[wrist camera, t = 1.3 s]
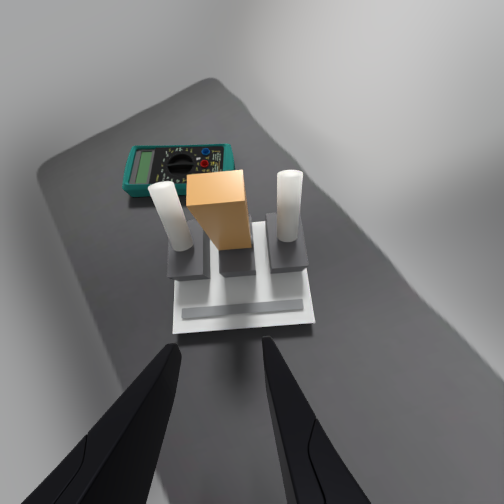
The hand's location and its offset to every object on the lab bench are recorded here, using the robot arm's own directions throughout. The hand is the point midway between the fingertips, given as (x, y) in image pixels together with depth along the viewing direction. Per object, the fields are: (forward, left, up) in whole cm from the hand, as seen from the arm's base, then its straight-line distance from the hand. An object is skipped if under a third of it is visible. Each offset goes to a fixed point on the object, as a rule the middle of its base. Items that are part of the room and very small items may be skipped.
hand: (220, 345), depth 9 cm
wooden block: (+8, 0, -8) cm, 12 cm away
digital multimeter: (+21, +8, -14) cm, 26 cm away
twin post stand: (+6, 0, -14) cm, 15 cm away
